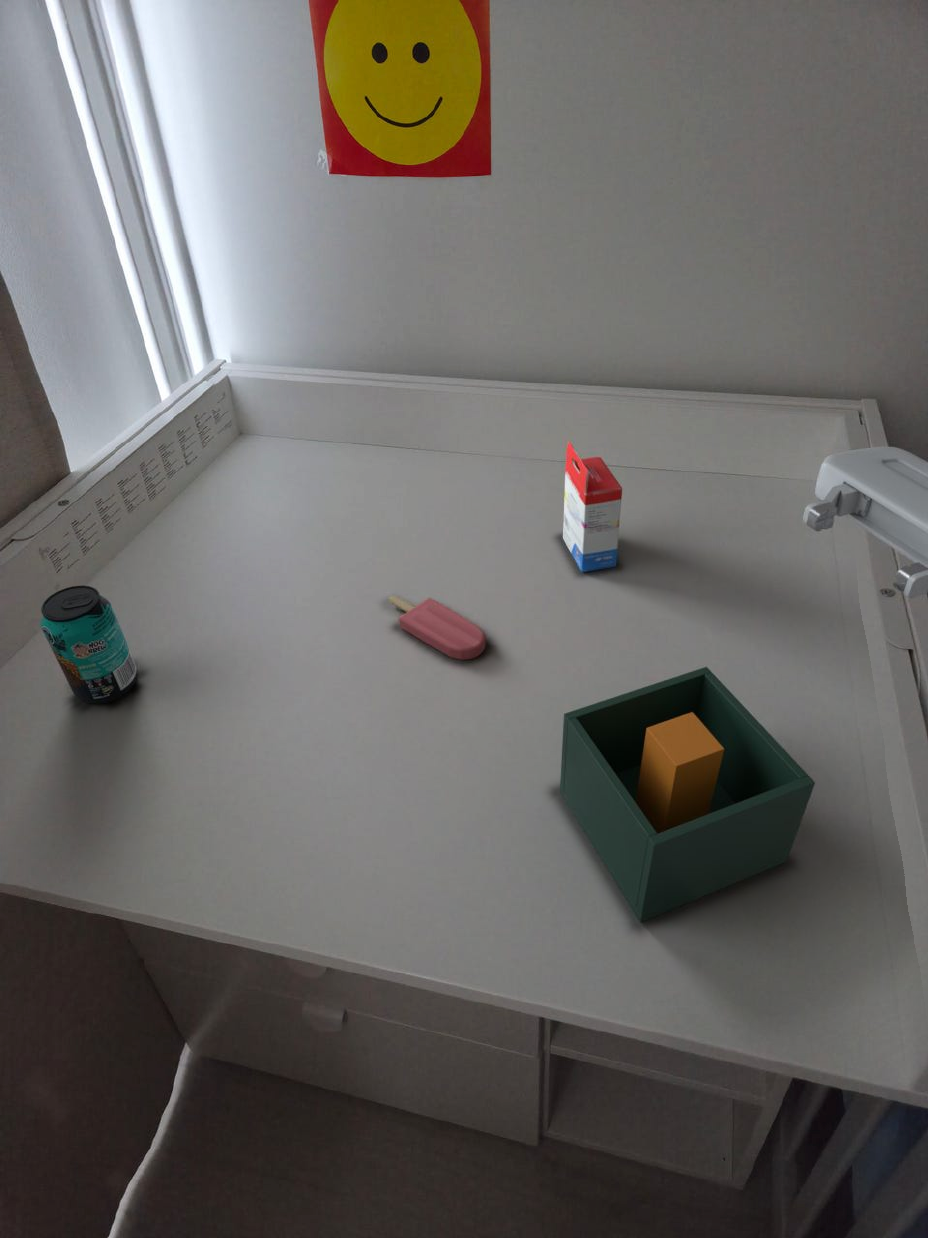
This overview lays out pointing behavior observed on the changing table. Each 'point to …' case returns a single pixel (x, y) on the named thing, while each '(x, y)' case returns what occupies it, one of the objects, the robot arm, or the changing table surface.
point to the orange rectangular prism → (678, 772)
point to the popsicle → (441, 628)
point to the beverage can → (88, 644)
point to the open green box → (705, 847)
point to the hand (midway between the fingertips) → (853, 549)
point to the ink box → (591, 512)
